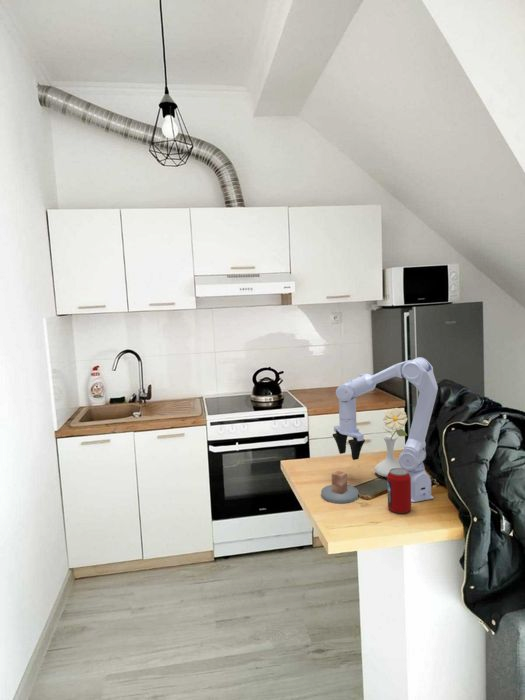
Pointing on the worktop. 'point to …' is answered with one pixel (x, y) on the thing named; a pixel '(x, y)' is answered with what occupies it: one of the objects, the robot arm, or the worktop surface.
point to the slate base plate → (339, 495)
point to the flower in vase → (391, 440)
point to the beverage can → (399, 490)
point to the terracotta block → (339, 482)
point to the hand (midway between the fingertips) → (348, 456)
